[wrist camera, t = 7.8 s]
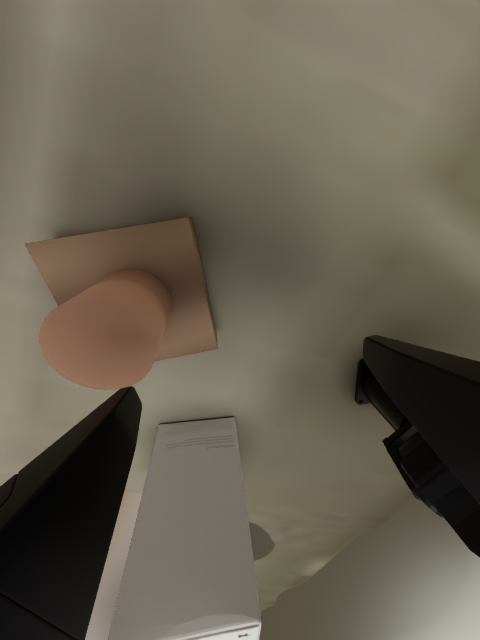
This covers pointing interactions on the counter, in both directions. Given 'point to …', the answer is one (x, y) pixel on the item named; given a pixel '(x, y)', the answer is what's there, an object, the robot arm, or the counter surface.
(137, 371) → the terracotta cylinder
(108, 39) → the counter surface
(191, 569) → the supplement box
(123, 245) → the tan flat block
